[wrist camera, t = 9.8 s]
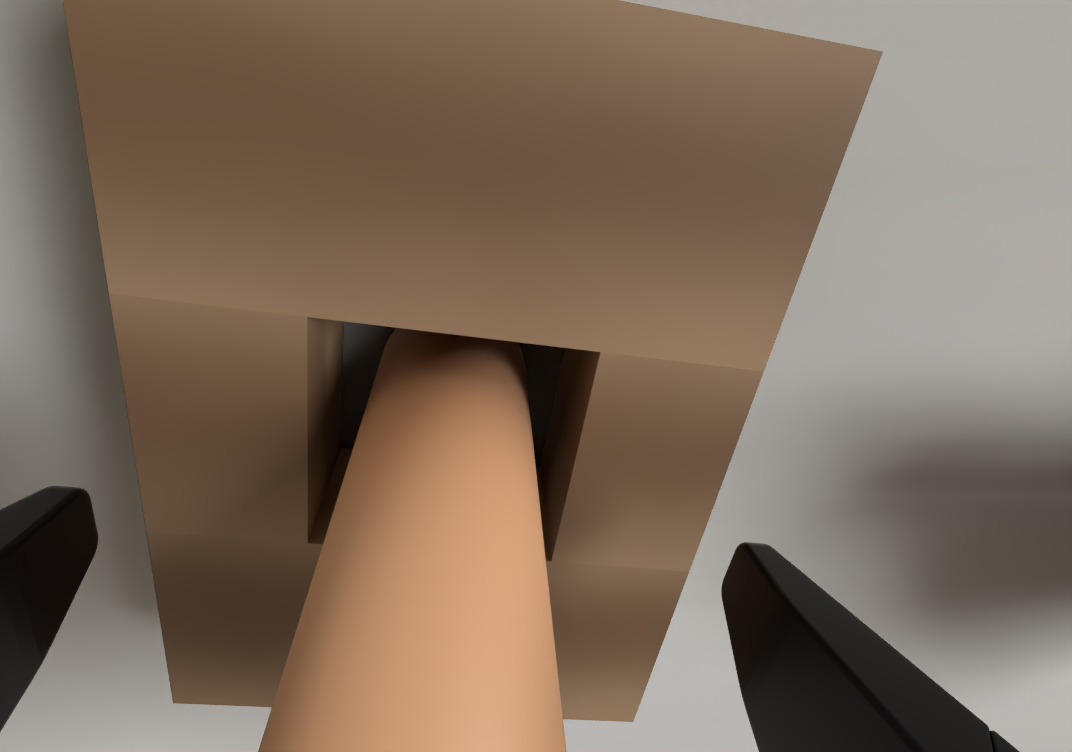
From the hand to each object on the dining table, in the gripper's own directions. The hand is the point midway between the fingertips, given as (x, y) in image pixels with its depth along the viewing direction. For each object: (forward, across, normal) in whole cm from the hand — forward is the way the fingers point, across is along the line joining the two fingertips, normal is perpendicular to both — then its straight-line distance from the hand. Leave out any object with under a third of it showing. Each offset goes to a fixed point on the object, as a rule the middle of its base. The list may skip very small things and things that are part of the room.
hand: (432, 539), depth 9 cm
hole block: (+5, 0, 0) cm, 5 cm away
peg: (+5, 0, 0) cm, 5 cm away
